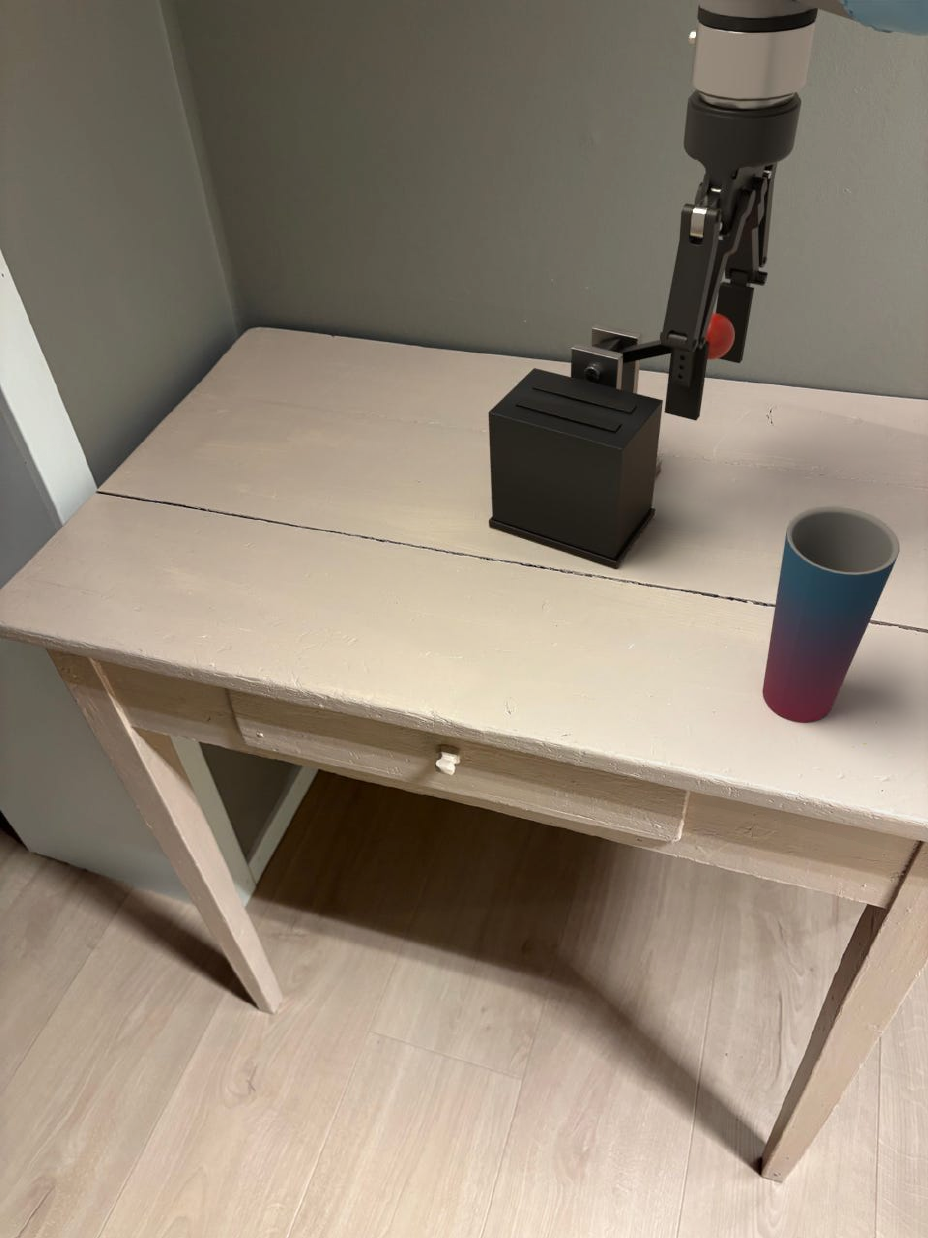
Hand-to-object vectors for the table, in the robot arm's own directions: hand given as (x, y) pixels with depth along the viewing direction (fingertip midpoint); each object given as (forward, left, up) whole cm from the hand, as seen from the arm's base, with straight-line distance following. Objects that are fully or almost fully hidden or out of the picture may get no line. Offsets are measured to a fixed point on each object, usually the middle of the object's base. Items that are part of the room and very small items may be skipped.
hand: (704, 385), depth 80 cm
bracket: (+9, 0, -12) cm, 15 cm away
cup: (-16, +19, -12) cm, 28 cm away
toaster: (+8, +8, -12) cm, 16 cm away
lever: (+4, 0, +1) cm, 4 cm away
